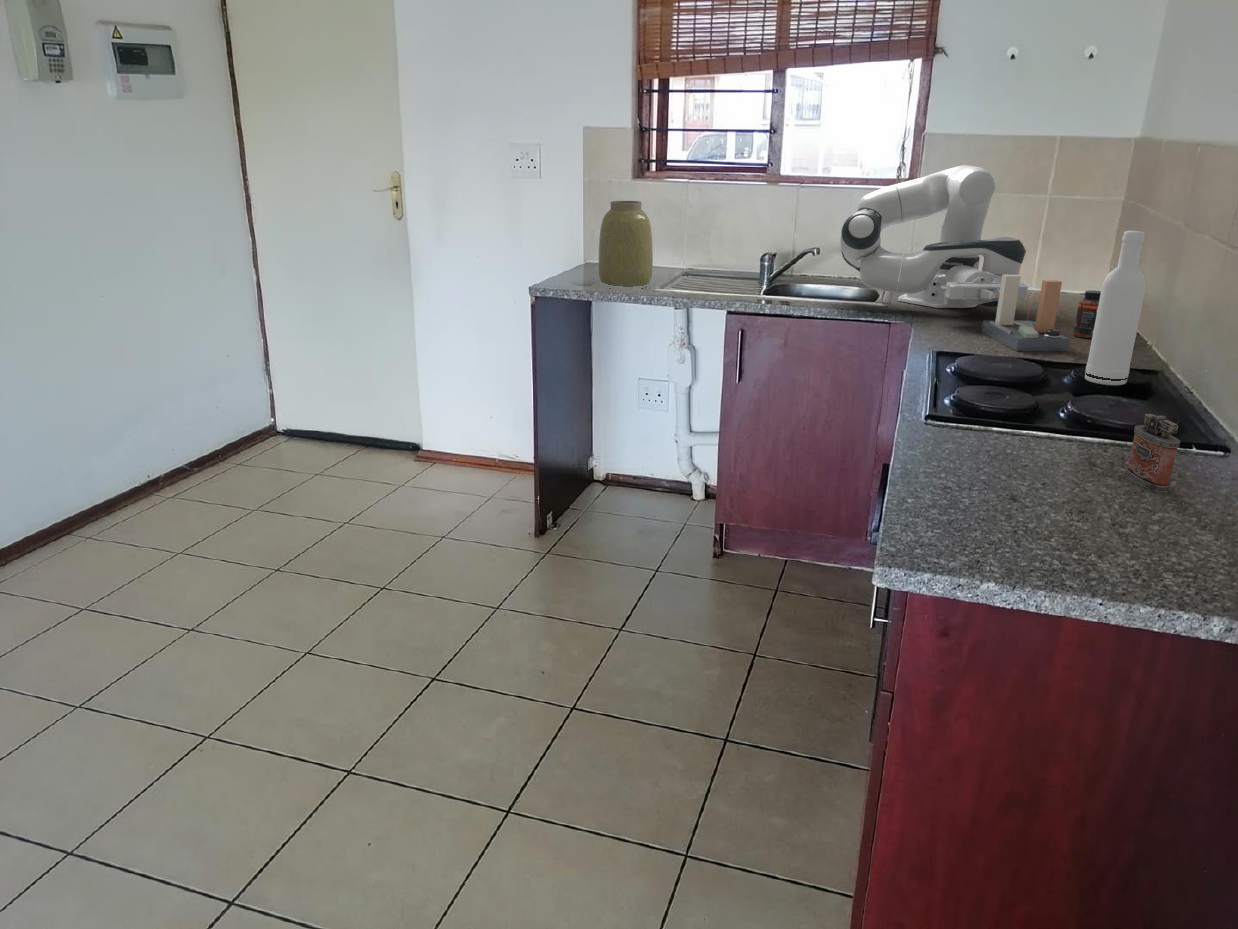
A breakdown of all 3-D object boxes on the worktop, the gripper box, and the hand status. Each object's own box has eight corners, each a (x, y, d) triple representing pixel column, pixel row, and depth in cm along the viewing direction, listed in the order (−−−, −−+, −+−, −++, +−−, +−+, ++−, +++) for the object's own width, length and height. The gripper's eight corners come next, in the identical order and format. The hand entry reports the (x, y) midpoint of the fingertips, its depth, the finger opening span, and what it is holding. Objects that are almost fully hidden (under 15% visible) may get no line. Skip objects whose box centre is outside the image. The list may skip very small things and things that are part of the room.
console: (981, 332, 231) (984, 314, 230) (1028, 332, 232) (1031, 315, 230) (1016, 351, 212) (1019, 332, 210) (1067, 351, 212) (1070, 332, 210)
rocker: (1018, 330, 214) (1019, 326, 214) (1030, 330, 214) (1032, 326, 214) (1024, 337, 211) (1025, 333, 210) (1037, 337, 211) (1038, 333, 210)
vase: (593, 285, 297) (593, 200, 288) (644, 283, 301) (645, 199, 292) (605, 294, 281) (605, 204, 272) (658, 292, 285) (660, 203, 276)
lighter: (1119, 472, 137) (1132, 409, 133) (1140, 471, 137) (1154, 408, 134) (1152, 492, 129) (1167, 425, 126) (1175, 491, 130) (1190, 425, 126)
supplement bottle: (1102, 339, 224) (1111, 293, 220) (1076, 338, 225) (1084, 292, 221) (1095, 334, 229) (1104, 289, 225) (1070, 333, 230) (1078, 288, 226)
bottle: (1123, 377, 189) (1153, 230, 179) (1130, 387, 182) (1161, 234, 172) (1081, 374, 192) (1108, 228, 181) (1086, 383, 185) (1115, 232, 174)
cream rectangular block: (995, 323, 226) (1002, 274, 222) (1009, 323, 226) (1016, 274, 222) (998, 324, 224) (1006, 276, 220) (1013, 325, 224) (1020, 276, 220)
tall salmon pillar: (1034, 330, 218) (1042, 280, 214) (1048, 330, 218) (1057, 280, 214) (1038, 332, 216) (1047, 281, 212) (1053, 332, 216) (1061, 281, 212)
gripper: (939, 275, 241) (957, 283, 228) (1015, 275, 241) (1038, 283, 228) (936, 298, 243) (954, 308, 230) (1012, 299, 243) (1034, 308, 230)
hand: (997, 296), depth 229 cm, fingers closed
